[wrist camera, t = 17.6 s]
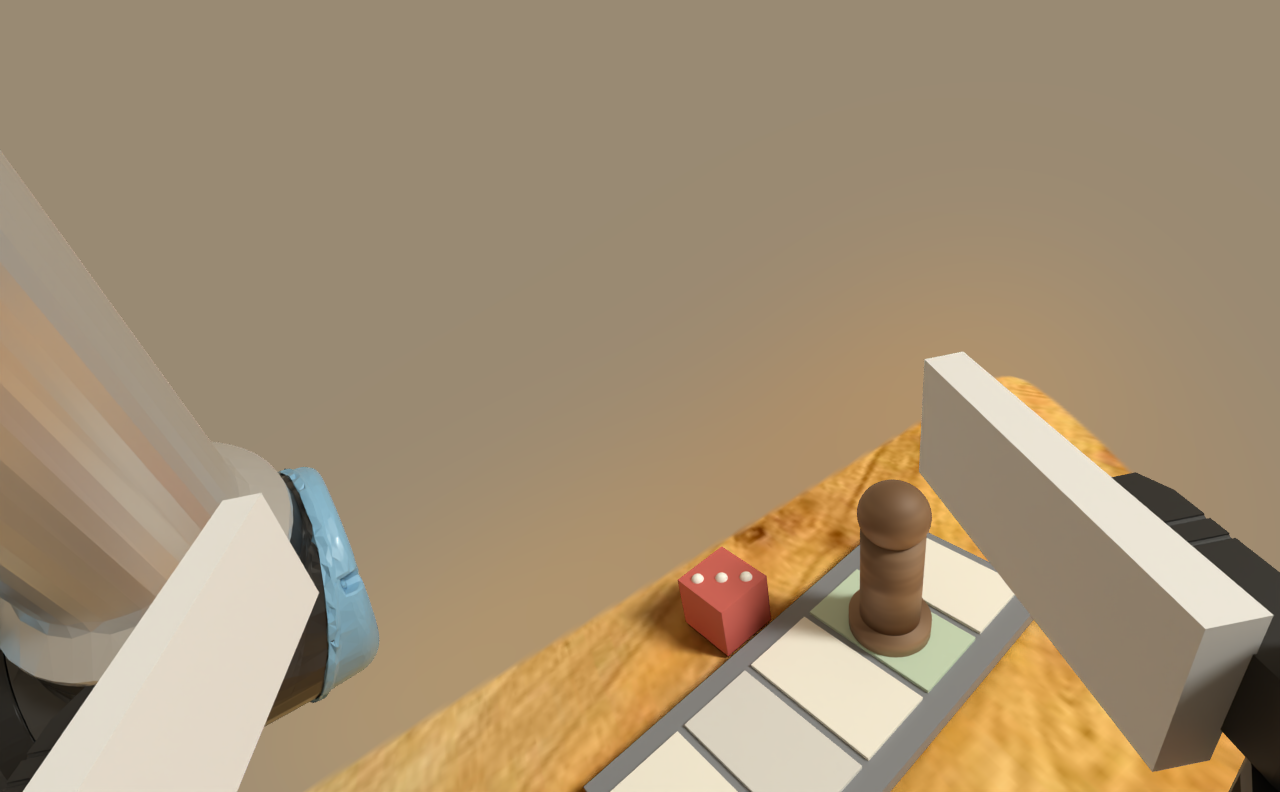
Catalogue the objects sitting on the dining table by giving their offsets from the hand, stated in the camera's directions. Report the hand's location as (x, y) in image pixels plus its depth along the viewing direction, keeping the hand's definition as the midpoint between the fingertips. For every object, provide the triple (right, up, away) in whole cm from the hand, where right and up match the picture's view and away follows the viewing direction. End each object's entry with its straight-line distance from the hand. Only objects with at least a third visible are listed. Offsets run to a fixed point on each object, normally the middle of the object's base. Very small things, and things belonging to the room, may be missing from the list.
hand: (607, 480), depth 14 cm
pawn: (+17, -14, +32) cm, 39 cm away
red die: (+7, -15, +36) cm, 40 cm away
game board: (+13, -17, +30) cm, 37 cm away
